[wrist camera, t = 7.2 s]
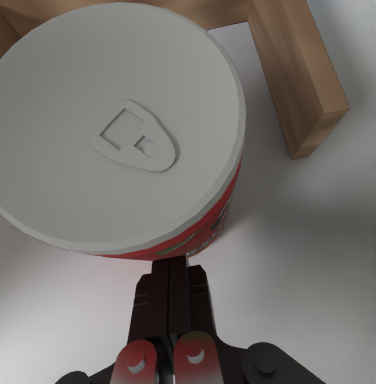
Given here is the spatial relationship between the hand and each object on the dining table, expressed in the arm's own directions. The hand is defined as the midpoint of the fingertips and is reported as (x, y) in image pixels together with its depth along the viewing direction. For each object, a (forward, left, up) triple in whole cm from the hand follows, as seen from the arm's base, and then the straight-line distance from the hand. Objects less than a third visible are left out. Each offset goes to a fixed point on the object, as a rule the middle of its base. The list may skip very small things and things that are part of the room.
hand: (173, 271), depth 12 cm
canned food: (0, +4, -5) cm, 7 cm away
